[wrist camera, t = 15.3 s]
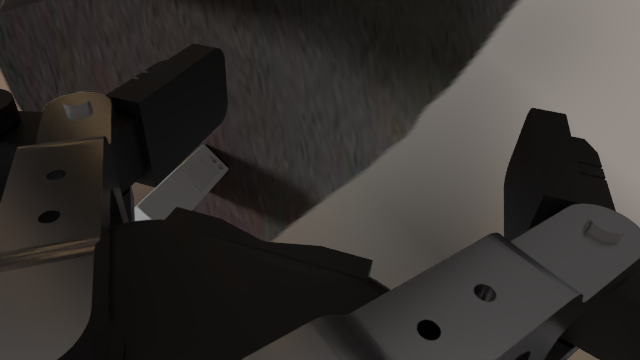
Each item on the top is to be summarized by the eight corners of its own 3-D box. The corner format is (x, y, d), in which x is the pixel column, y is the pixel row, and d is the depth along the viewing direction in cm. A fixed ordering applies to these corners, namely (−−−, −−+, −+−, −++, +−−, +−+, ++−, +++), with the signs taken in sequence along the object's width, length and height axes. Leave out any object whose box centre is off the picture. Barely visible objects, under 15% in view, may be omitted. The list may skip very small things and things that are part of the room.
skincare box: (203, 141, 52) (137, 204, 43) (230, 168, 53) (170, 235, 44) (178, 166, 56) (111, 229, 47) (203, 190, 57) (143, 256, 48)
